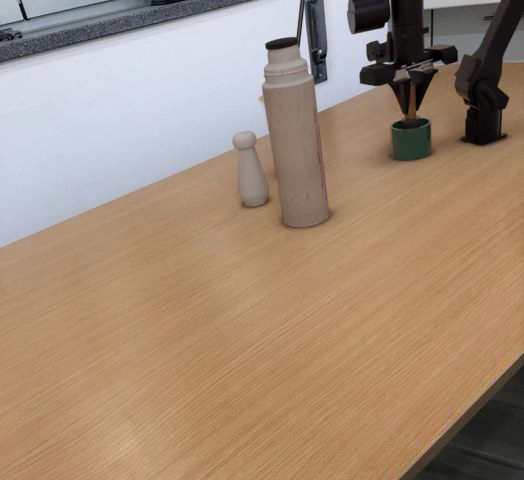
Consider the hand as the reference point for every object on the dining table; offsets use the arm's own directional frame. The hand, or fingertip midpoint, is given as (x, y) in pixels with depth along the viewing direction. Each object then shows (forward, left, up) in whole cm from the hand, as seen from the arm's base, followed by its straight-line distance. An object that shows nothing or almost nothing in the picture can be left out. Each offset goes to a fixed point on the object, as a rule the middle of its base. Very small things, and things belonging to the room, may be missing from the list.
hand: (410, 112), depth 116 cm
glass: (+20, -12, -8) cm, 25 cm away
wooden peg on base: (0, 0, -5) cm, 5 cm away
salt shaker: (+34, -3, -8) cm, 35 cm away
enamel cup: (0, 0, -8) cm, 8 cm away
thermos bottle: (+31, +11, -8) cm, 34 cm away
